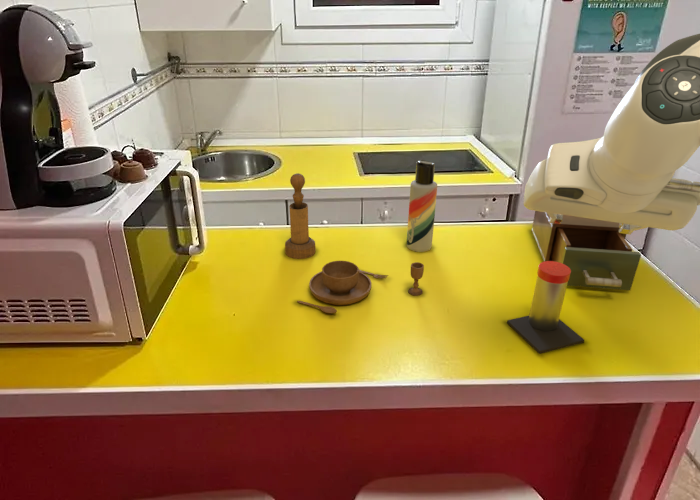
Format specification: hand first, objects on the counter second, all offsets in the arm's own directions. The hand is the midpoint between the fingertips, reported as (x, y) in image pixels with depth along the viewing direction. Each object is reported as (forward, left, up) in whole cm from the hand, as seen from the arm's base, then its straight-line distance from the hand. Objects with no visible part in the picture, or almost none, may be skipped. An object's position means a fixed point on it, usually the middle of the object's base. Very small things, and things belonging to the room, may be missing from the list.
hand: (589, 224), depth 75 cm
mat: (0, -4, -22) cm, 23 cm away
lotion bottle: (+6, -40, -23) cm, 47 cm away
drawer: (-21, -17, -22) cm, 34 cm away
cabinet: (-26, -28, -22) cm, 45 cm away
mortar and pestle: (+32, -46, -23) cm, 60 cm away
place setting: (+26, -25, -23) cm, 43 cm away
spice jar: (-1, -6, -22) cm, 23 cm away
